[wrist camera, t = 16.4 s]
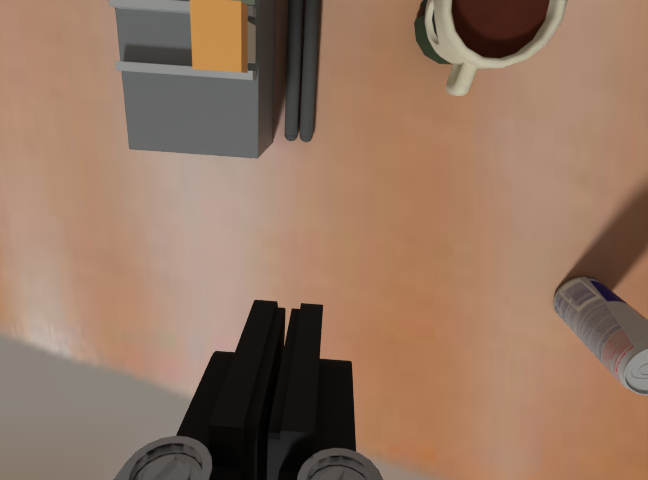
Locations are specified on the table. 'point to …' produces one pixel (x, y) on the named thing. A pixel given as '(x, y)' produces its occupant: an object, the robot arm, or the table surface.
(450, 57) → the character mug
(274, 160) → the table surface
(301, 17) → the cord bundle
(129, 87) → the grey box
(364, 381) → the table surface
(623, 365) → the energy drink
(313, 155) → the table surface
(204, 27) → the switch
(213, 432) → the robot arm
